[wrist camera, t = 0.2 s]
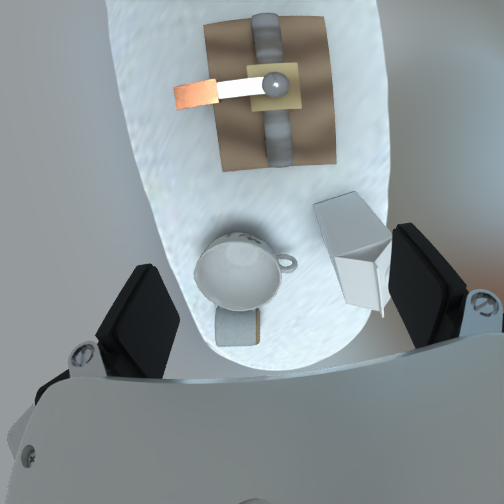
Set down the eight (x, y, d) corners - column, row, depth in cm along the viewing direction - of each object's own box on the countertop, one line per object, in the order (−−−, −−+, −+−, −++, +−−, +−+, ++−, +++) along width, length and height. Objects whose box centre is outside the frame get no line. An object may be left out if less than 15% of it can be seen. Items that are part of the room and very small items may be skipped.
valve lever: (286, 72, 24) (288, 70, 22) (289, 97, 25) (291, 96, 23) (179, 86, 25) (173, 86, 23) (182, 110, 26) (176, 110, 24)
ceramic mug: (260, 326, 55) (259, 355, 48) (220, 325, 55) (215, 354, 48) (260, 285, 49) (259, 314, 43) (215, 284, 50) (208, 313, 43)
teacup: (212, 283, 49) (204, 314, 42) (196, 221, 43) (184, 246, 36) (295, 277, 48) (300, 308, 41) (292, 211, 41) (297, 236, 35)
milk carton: (324, 242, 44) (353, 327, 28) (312, 204, 41) (342, 280, 24) (364, 229, 42) (411, 307, 26) (355, 190, 39) (410, 256, 23)
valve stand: (205, 27, 27) (190, 10, 20) (321, 19, 26) (336, 0, 18) (224, 169, 38) (214, 186, 31) (333, 161, 37) (350, 177, 30)
